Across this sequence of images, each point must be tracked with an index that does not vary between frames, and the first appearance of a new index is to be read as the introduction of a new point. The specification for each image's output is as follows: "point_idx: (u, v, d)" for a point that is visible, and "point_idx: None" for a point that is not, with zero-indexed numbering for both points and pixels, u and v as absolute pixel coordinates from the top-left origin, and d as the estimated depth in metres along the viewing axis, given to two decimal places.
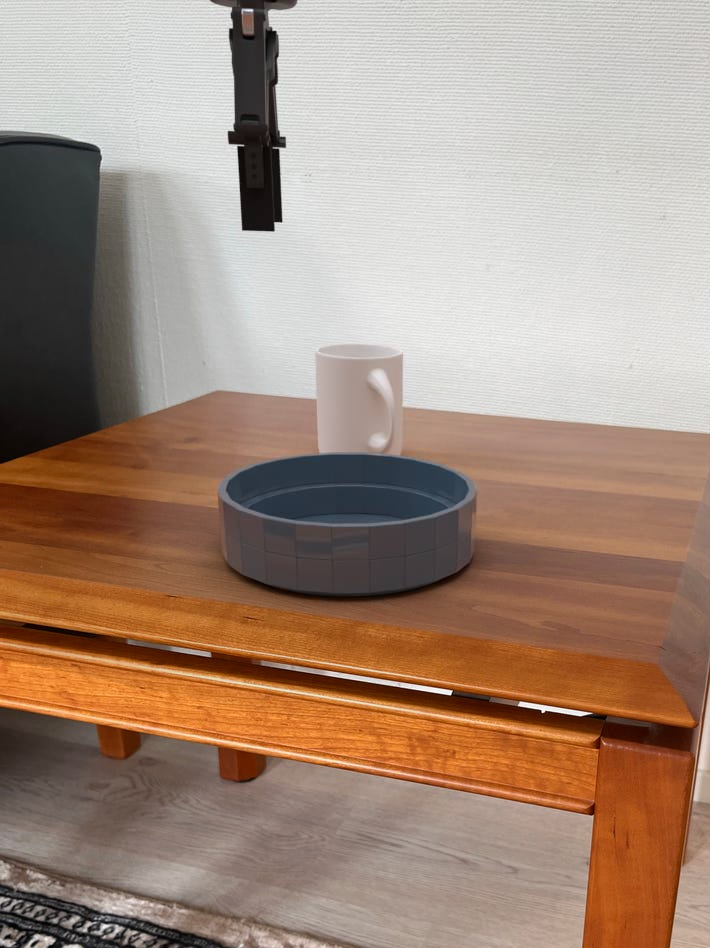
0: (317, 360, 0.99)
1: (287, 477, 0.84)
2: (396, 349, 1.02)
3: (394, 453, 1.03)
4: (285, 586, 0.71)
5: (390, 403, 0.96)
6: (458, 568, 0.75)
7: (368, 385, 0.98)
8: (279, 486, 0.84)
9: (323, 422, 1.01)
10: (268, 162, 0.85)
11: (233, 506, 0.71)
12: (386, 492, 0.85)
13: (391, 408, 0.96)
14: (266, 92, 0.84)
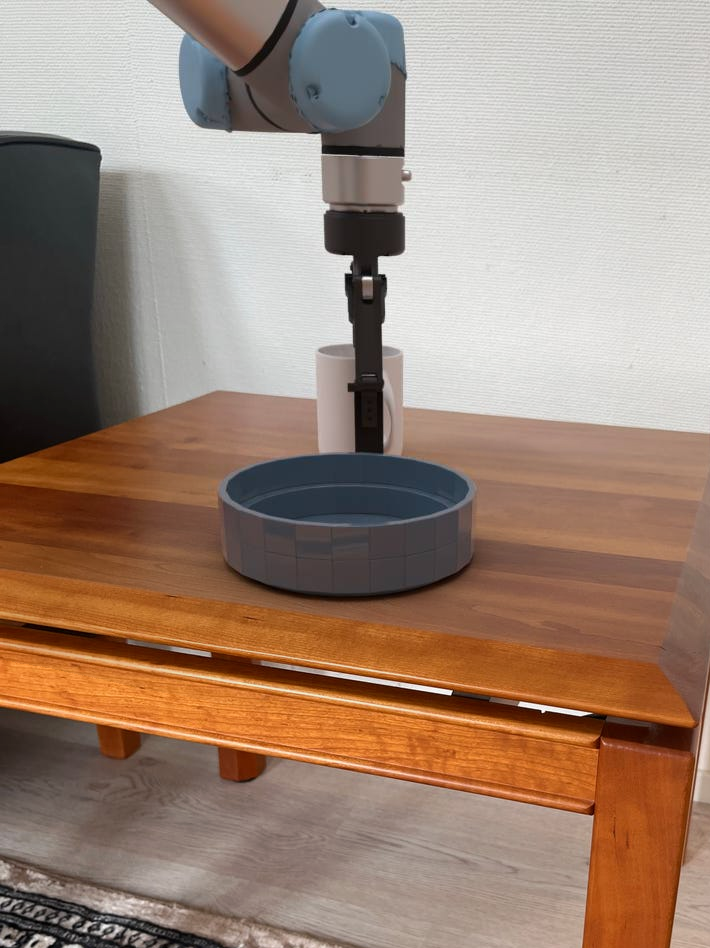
0: (317, 360, 0.99)
1: (287, 477, 0.84)
2: (396, 349, 1.02)
3: (394, 453, 1.03)
4: (285, 586, 0.71)
5: (390, 403, 0.96)
6: (458, 568, 0.75)
7: None
8: (279, 486, 0.84)
9: (323, 422, 1.01)
10: (381, 403, 0.96)
11: (233, 506, 0.71)
12: (386, 492, 0.85)
13: (392, 408, 0.96)
14: None
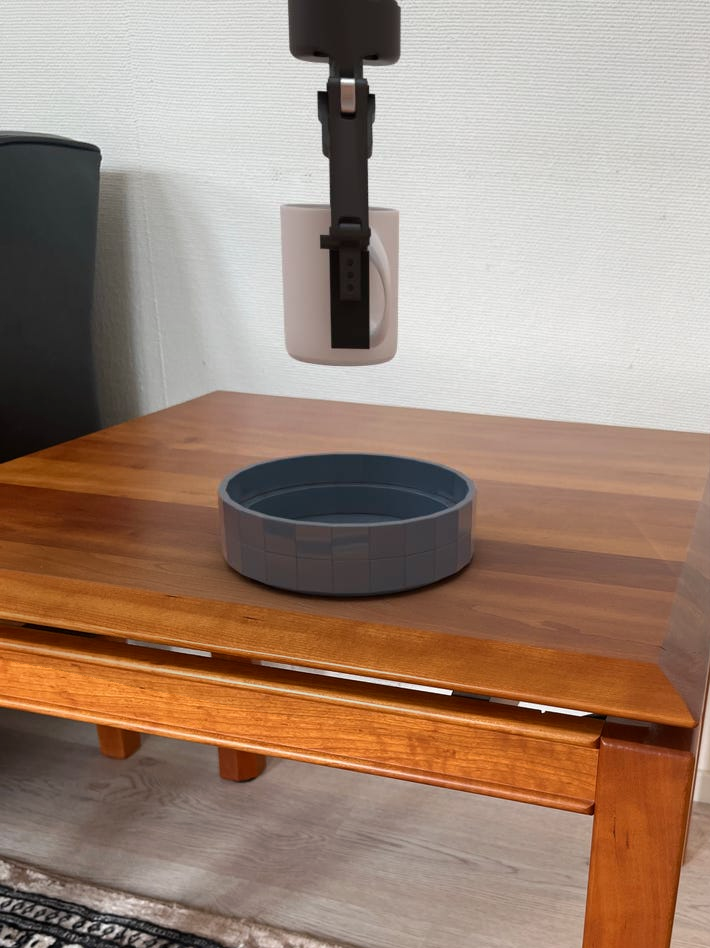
0: (283, 217, 0.73)
1: (287, 477, 0.84)
2: (389, 209, 0.76)
3: (387, 349, 0.77)
4: (285, 586, 0.71)
5: (384, 271, 0.70)
6: (458, 568, 0.75)
7: None
8: (279, 486, 0.84)
9: (292, 304, 0.75)
10: (366, 268, 0.70)
11: (233, 506, 0.71)
12: (386, 492, 0.85)
13: (386, 279, 0.70)
14: None
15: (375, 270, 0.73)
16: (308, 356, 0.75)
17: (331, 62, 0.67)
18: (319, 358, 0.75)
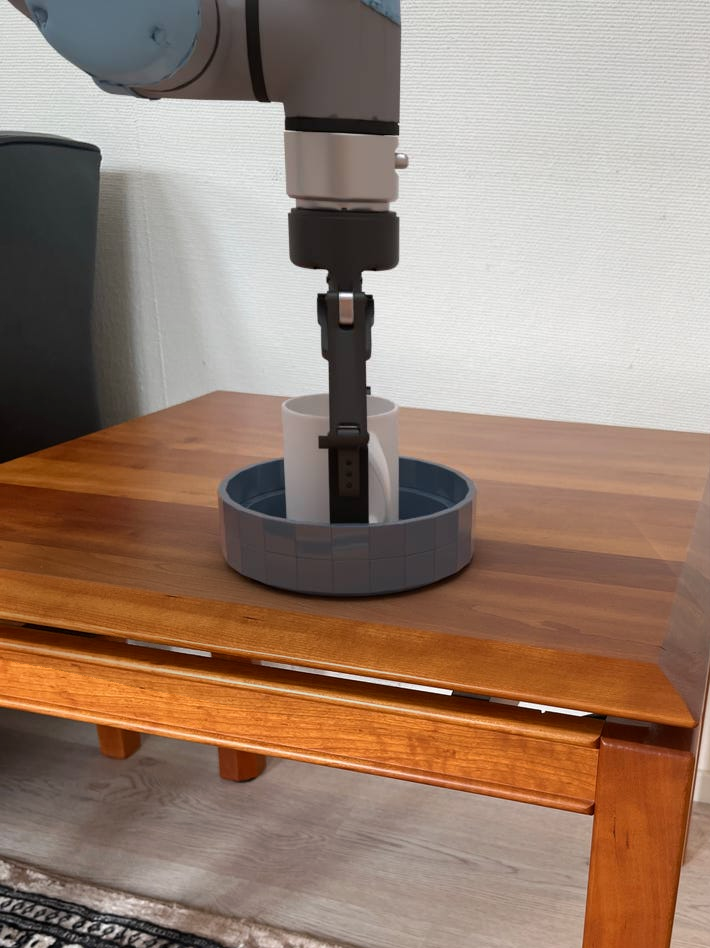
0: (284, 418, 0.74)
1: None
2: (389, 401, 0.77)
3: None
4: (285, 586, 0.71)
5: (383, 478, 0.71)
6: (458, 568, 0.75)
7: None
8: (279, 486, 0.84)
9: (293, 500, 0.76)
10: (365, 464, 0.69)
11: (233, 506, 0.71)
12: None
13: (386, 485, 0.71)
14: None
15: None
16: None
17: (330, 277, 0.67)
18: None
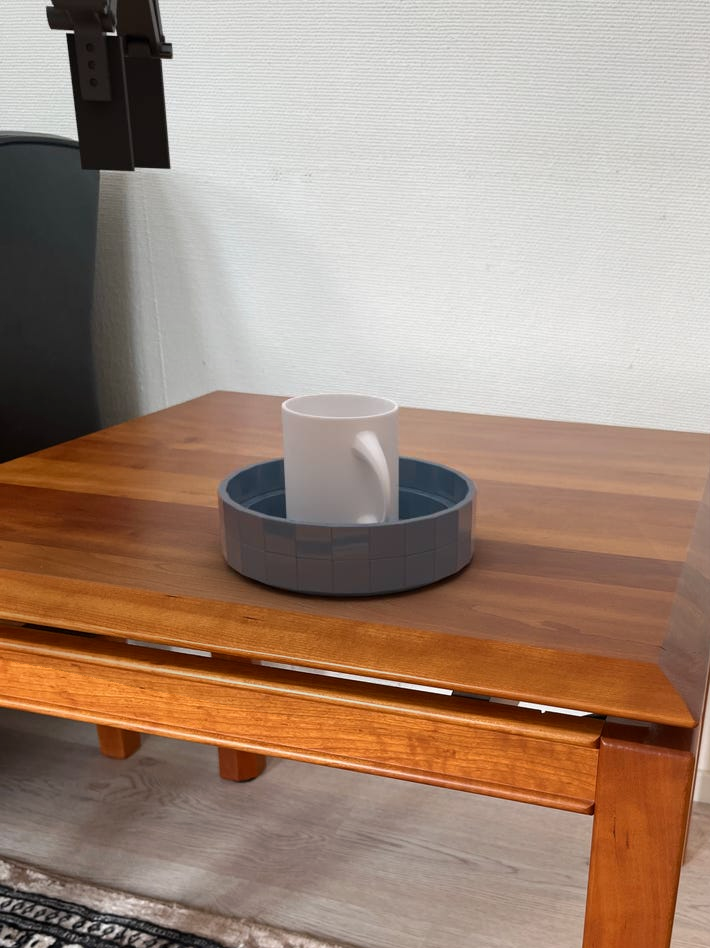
0: (284, 418, 0.74)
1: None
2: (389, 401, 0.77)
3: None
4: (285, 586, 0.71)
5: (383, 478, 0.71)
6: (458, 568, 0.75)
7: (353, 453, 0.73)
8: (279, 486, 0.84)
9: (293, 500, 0.76)
10: (117, 60, 0.54)
11: (233, 506, 0.71)
12: None
13: (386, 485, 0.71)
14: None
15: None
16: None
17: None
18: None
